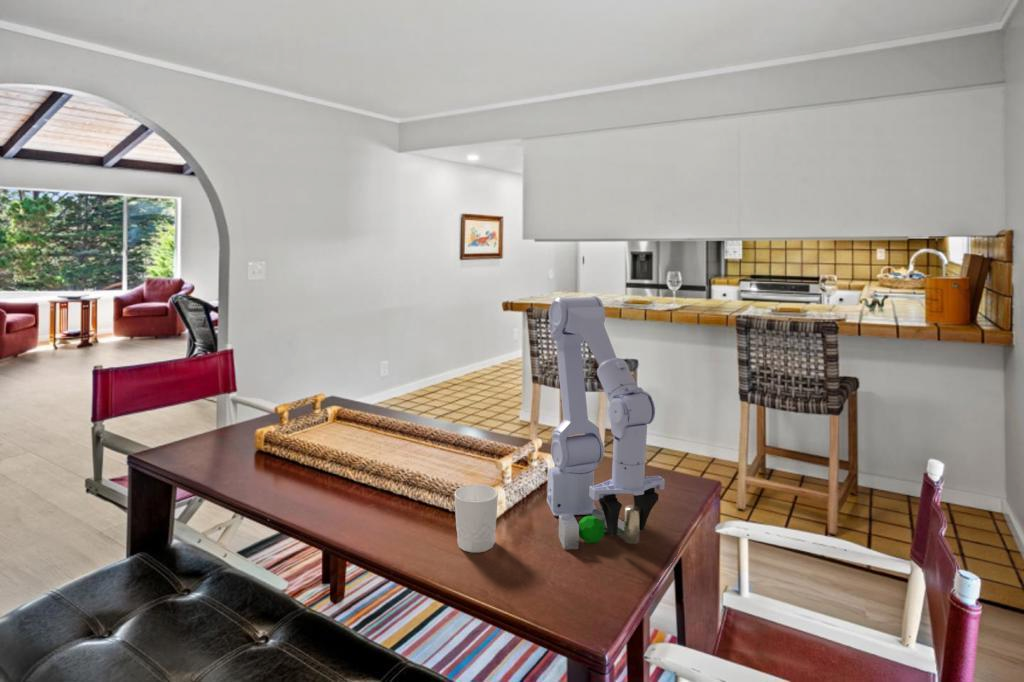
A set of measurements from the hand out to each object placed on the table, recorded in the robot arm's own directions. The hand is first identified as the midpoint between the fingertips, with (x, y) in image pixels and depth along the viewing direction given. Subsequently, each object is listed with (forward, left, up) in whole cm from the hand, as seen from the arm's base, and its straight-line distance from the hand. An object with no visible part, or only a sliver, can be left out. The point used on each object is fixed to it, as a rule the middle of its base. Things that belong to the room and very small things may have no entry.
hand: (625, 530), depth 112 cm
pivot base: (-2, +8, -3) cm, 9 cm away
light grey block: (-10, +3, -3) cm, 11 cm away
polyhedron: (-6, +3, -4) cm, 7 cm away
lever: (0, +4, -2) cm, 5 cm away
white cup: (-27, +5, -4) cm, 27 cm away
